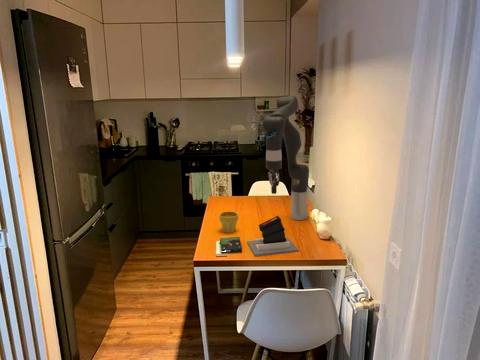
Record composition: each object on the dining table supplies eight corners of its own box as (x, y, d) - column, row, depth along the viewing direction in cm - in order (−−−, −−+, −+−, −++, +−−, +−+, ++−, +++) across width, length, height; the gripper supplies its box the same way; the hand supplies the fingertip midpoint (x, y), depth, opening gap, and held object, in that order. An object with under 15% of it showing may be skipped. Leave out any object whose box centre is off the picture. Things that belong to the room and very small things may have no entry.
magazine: (292, 242, 184) (279, 217, 180) (268, 254, 184) (255, 229, 180) (290, 239, 188) (278, 214, 184) (267, 251, 188) (254, 226, 184)
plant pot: (228, 235, 201) (228, 218, 199) (216, 230, 208) (215, 214, 206) (242, 230, 208) (241, 214, 206) (229, 225, 215) (229, 209, 213)
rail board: (287, 238, 196) (287, 232, 195) (298, 251, 181) (298, 245, 180) (247, 243, 191) (247, 236, 190) (254, 256, 176) (254, 249, 175)
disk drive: (242, 253, 181) (239, 241, 195) (242, 248, 180) (239, 236, 194) (221, 255, 180) (219, 242, 194) (221, 249, 179) (219, 237, 193)
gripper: (285, 161, 172) (285, 196, 177) (276, 155, 185) (276, 189, 189) (270, 162, 171) (270, 198, 175) (262, 156, 183) (262, 190, 188)
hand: (273, 193), depth 182 cm, fingers closed
